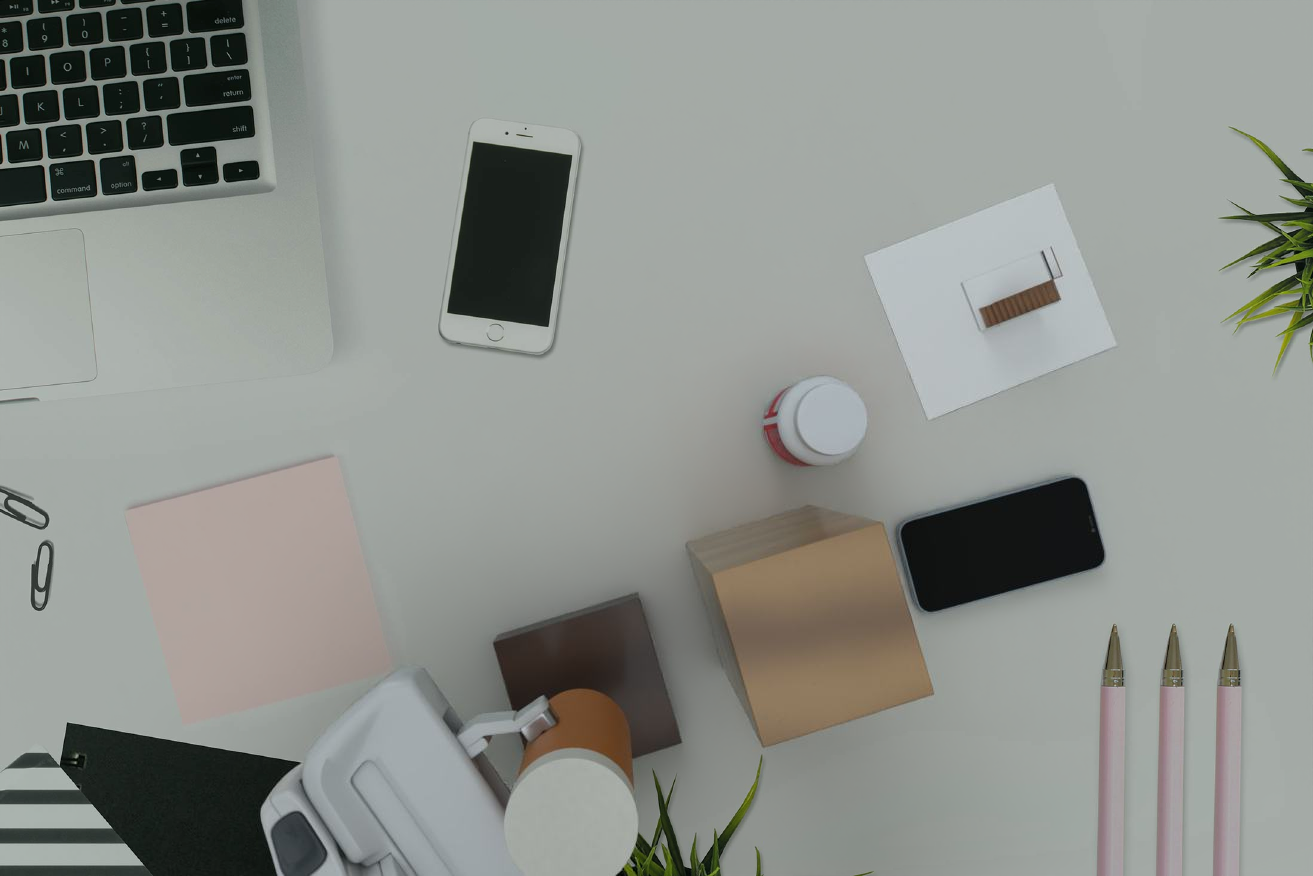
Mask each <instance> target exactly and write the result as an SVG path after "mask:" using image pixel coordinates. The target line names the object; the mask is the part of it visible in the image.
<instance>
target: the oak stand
mask: <svg viewBox="0 0 1313 876" xmlns="http://www.w3.org/2000/svg"><path fill="white" fill-rule="evenodd" d="M685 547H686V551H687V553H688V557H689V560H690V563H691V566H692V569H693V573H694V576H695V580H696V583H697V586H698V590H699V593H700V596H701V599H702V603H703V607H704V609H705V612H706V613H705V614H706V617H707V620H708V623H709V626H710V627H709V628H710V630H711V633H712V636H713V640H714V643H715V647H716V650H717V653H718V657H719V660H720V663H721V667H722V669H723V672H724V674H725V676H726V677H727V679H728V681H729V684H730V685H731V688H732V690H733V691H734V693H735V695H736V697H737V700H738V701H739V704H740V706H741V708H742V709H743V711H744V713H745V715H746V718H747V719H748V721H749V723H750V725H751V727H752V729H753V731H754V733H755V735H756V737H757V739H758V741H759V743H760V745H761V747H762V748H763V749H765V748H769V747H772V746H775V745H778V744H779V745H780V744H782V743H784V742H788V741H790V740H794V739H796V738H800V737H803V736H806V735H810V734H813V733H817V732H819V731H823V730H826V729H829V728H832V727H835V726H838V725H842V724H846V723H847V722H851V721H854V720H858V719H861V718H864V717H867V716H870V715H873V714H877V713H880V712H882V711H886V710H889V709H890V710H891V709H892V708H896V707H899V706H902V705H905V704H909V703H912V702H915V701H918V700H921V699H924V698H928V697H931V696H934V695H935V691H934V687H933V684H932V681H931V677H930V675H929V674H930V673H929V671H928V667H927V664H926V661H925V657H924V654H923V651H922V647H921V644H920V641H919V638H918V634H917V631H916V628H915V624H914V620H913V618H912V614H911V611H910V608H909V605H908V602H907V601H908V600H907V598H906V594H905V591H904V588H903V585H902V581H901V578H900V574H899V571H898V568H897V565H896V562H895V561H896V560H895V558H894V555H893V551H892V548H891V544H890V542H889V539H888V535H887V532H886V528H885V524H884V522H883V521H880V520H876V519H872V518H867V517H863V516H859V515H854V514H850V513H846V512H841V511H837V510H834V509H828V508H824V507H821V506H816V505H812V504H809V505H805V506H803V507H799V508H795V509H793V510H790V511H785V512H783V513H779V514H775V515H772V516H769V517H767V518H763V519H759V520H755V521H753V522H749V523H746V524H743V525H740V526H737V527H733V528H730V529H726V530H723V531H719V532H716V533H714V534H709V535H707V536H704V537H703V536H702V537H700V538H697V539H694V540H691V541H687V542H686V543H685Z"/></svg>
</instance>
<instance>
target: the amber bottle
mask: <svg viewBox="0 0 1313 876" xmlns="http://www.w3.org/2000/svg"><path fill="white" fill-rule="evenodd" d="M549 703H550V704H551V706H552V707H553V709H554V710H555V712H556V713H557V715H558V716H559V719H558V723H557V724H556V725H555V726H554V727H553V728H551V729H550V730H548V731H542V734H541V735H540V736H539V737H538V738H537V739H536V740H535V741H533V742H532V743H529V741H528V743H527V746H526V749H525V750H524V754H523V757H522V760H521V764H520V767H519V770H518V774H517V778H516V781H515V782H514V785H513V786H512V788H511V790H510V791H511V794H510V797H509V801H508V804H507V807H506V811H505V817H504V838H505V842H506V846H507V849H508V852H509V854H510V856H511V858H512V860H513V862H514V863H515V865H516V866H517V868H518V869H519V870H520V871H521V872H522V873H523V874H524V875H525V876H617V875H618V874H619V873H620V872H621V871H622V870H623V868H624V867H625V866H626V864H627V863H628V862H629V860H630V859H631V857H632V855H633V852H634V850H635V847H636V844H637V841H638V835H639V824H640V823H639V821H640V820H639V809H638V808H639V807H638V800H637V796H636V792H635V783H634V781H635V780H634V769H633V767H634V765H633V759H632V751H631V737H630V728H629V724H628V721H627V719H626V716H625V715H624V713H623V711H622V710H621V708H620V707H619V706H618V705H617V704H616V702H614V701H613V700H612V699H611V698H609V697H608V696H606V695H605V694H602V693H600V692H598V691H594V690H590V689H572V690H568V691H565V692H562V693H560V694H558V695H556V696H554V697H553V698H551V699H550V700H549Z"/></svg>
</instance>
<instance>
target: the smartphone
mask: <svg viewBox="0 0 1313 876" xmlns="http://www.w3.org/2000/svg"><path fill="white" fill-rule="evenodd" d="M895 533H896V534H895V535H896V539H897V543H898V544H897V545H898V547H899V551H900V554H901V559H902V562H903V566H904V570H905V573H906V577H907V580H908V585H909V589H910V592H911V596H912V599H913V602H914V605H915V606H916V607H917V609H919V610H920V611H922V612H924V613H926V614H937V613H941V612H944V611H948V610H951V609H955V608H956V609H957V608H959V607H963V606H967V605H970V604H973V603H977V602H982V601H985V600H989V599H992V598H996V597H1000V596H1004V595H1007V594H1011V593H1015V592H1018V591H1022V590H1025V589H1029V588H1032V587H1036V586H1040V585H1043V584H1047V583H1051V582H1054V581H1059V580H1063V579H1065V578H1070V577H1073V576H1076V575H1077V576H1078V575H1081V574H1085V573H1088V572H1092V571H1095V570H1098V569H1100V568H1101V567H1102V566H1103V565H1104V564H1105V562H1106V559H1107V550H1106V546H1105V543H1104V540H1103V536H1102V533H1101V527H1100V525H1099V522H1098V517H1097V513H1096V511H1095V507H1094V503H1093V499H1092V496H1091V491H1090V489H1089V486H1088V483H1087V482H1086V480H1085V479H1084V478H1082V477H1081V476H1078V475H1065V476H1062V477H1058V478H1054V479H1050V480H1046V481H1042V482H1038V483H1035V484H1032V485H1031V484H1030V485H1028V486H1024V487H1020V488H1016V489H1013V490H1008V491H1006V492H1001V493H998V494H994V495H991V496H990V495H989V496H987V497H982V498H979V499H975V500H972V501H969V502H965V503H960V504H957V505H954V506H950V507H945V508H942V509H938V510H934V511H931V512H926V513H923V514H919V515H916V516H912V517H908V518H906V519H903V520H902V521H901V522H899V524H898V526H897V527H896V532H895Z"/></svg>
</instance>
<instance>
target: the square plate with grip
mask: <svg viewBox="0 0 1313 876" xmlns="http://www.w3.org/2000/svg"><path fill="white" fill-rule="evenodd" d="M863 259H864V261H865V264H866V266H867V269H868V271H869V274H870V277H871V279H872V282H873V284H874V287H875V289H876V292H877V294H878V297H879V299H880V302H881V305H882V307H883V310H884V312H885V314H886V318H887V319H888V322H889V324H890V327H891V330H892V332H893V335H894V337H895V340H896V343H897V345H898V347H899V350H900V353H901V356H902V357H903V360H904V363H905V365H906V369H907V370H908V373H909V375H910V378H911V381H912V383H913V385H914V388H915V391H916V393H917V396H918V399H919V400H920V403H921V406H922V408H923V410H924V413H925V415H926V419H927V421H931V420H934V419H936V418H938V417H940V416H943V415H946V414H948V413H950V412H952V411H956V410H958V409H960V408H963V407H966V406H968V405H971V404H973V403H976V402H978V401H980V400H984V399H986V398H988V397H992V396H993V395H996V394H998V393H1002V392H1004V391H1007V390H1008V389H1012V388H1013V387H1016V386H1019V385H1021V384H1024V383H1026V382H1029V381H1031V380H1035V379H1036V378H1039V377H1042V376H1043V375H1047V374H1048V373H1052V372H1054V371H1056V370H1059V369H1061V368H1064V367H1066V366H1069V365H1071V364H1075V363H1077V362H1079V361H1082V360H1084V359H1087V358H1090V357H1092V356H1094V355H1097V354H1099V353H1102V352H1104V351H1107V350H1109V349H1112V348H1114V347H1117V346H1118V343H1117V341H1116V338H1115V335H1114V333H1113V330H1112V328H1111V325H1110V323H1109V321H1108V318H1107V316H1106V313H1105V310H1104V308H1103V306H1102V303H1101V300H1100V298H1099V295H1098V292H1097V290H1096V288H1095V285H1094V281H1093V280H1092V278H1091V277H1092V276H1091V275H1090V272H1089V270H1088V267H1087V265H1086V262H1085V260H1084V257H1083V255H1082V252H1081V249H1080V247H1079V245H1078V242H1077V239H1076V237H1075V234H1074V232H1073V229H1072V226H1071V225H1070V221H1069V220H1068V217H1067V214H1066V212H1065V209H1064V206H1063V204H1062V202H1061V199H1060V196H1059V194H1058V192H1057V190H1056V187H1055V185H1054V182H1051V183H1049V184H1047V185H1044V186H1041V187H1039V188H1037V189H1034V190H1031V191H1028V192H1026V193H1023V194H1021V195H1018V196H1015V197H1013V198H1010V199H1008V200H1004V201H1002V202H999V203H998V204H995V205H992V206H990V207H987V208H984V209H982V210H979V211H976V212H974V213H971V214H969V215H967V216H964V217H962V218H958V219H956V220H954V221H951V222H948V223H945V224H943V225H940V226H938V227H936V228H933V229H930V230H928V231H925V232H923V233H920V234H917V235H915V236H912V237H910V238H907V239H905V240H902V241H900V242H896V243H894V244H891V245H889V246H887V247H884V248H881V249H878V250H875V251H874V252H870V253H869V254H866V255H863Z"/></svg>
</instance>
